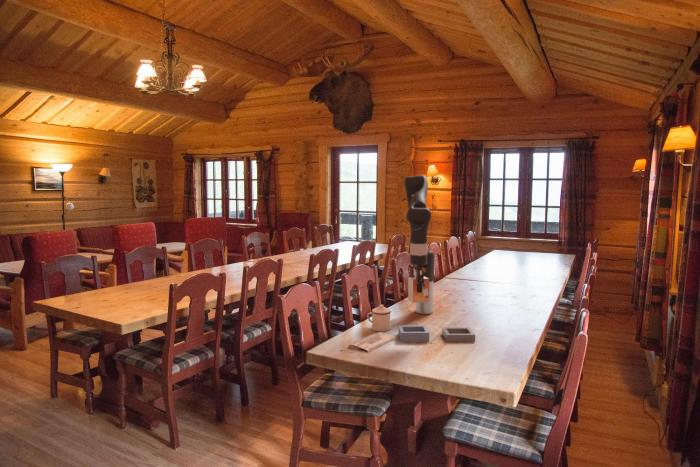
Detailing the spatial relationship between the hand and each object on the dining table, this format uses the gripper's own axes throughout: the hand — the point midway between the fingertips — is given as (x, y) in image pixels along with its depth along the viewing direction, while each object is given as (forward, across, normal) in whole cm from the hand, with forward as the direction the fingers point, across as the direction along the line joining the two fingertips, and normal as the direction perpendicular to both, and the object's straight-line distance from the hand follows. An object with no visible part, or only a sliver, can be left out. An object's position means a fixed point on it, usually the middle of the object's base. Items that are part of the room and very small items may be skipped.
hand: (418, 290), depth 209 cm
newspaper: (+23, +6, -21) cm, 32 cm away
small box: (+5, 0, 0) cm, 5 cm away
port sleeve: (+22, 0, -2) cm, 22 cm away
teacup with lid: (+22, -14, -17) cm, 31 cm away
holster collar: (+22, 0, +18) cm, 28 cm away
